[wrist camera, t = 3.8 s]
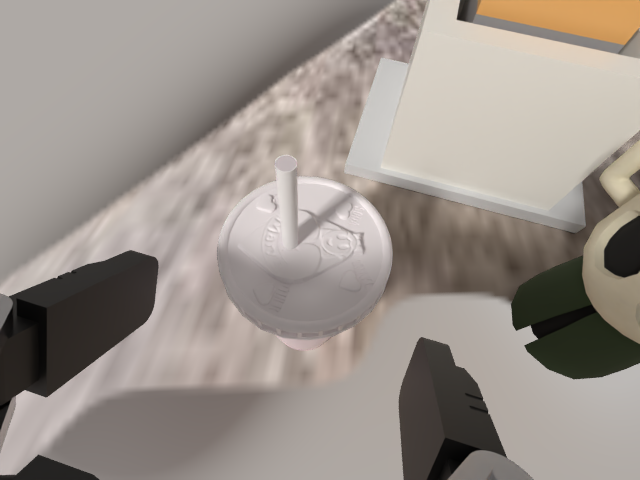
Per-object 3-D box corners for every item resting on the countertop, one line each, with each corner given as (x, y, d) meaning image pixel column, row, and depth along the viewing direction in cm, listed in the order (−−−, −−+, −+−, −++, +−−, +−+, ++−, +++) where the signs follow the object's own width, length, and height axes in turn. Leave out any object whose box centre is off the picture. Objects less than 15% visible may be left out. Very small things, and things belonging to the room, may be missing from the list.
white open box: (567, 110, 31) (688, -34, 21) (575, 233, 25) (750, 108, 15) (379, 67, 33) (412, -86, 23) (344, 172, 26) (368, 24, 17)
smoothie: (252, 270, 22) (192, 76, 10) (352, 268, 23) (412, 79, 10) (247, 378, 19) (153, 288, 7) (362, 373, 20) (464, 280, 7)
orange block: (554, 54, 25) (646, -82, 18) (558, 123, 21) (672, -12, 15) (453, 32, 25) (506, -107, 19) (441, 96, 22) (500, -46, 16)
